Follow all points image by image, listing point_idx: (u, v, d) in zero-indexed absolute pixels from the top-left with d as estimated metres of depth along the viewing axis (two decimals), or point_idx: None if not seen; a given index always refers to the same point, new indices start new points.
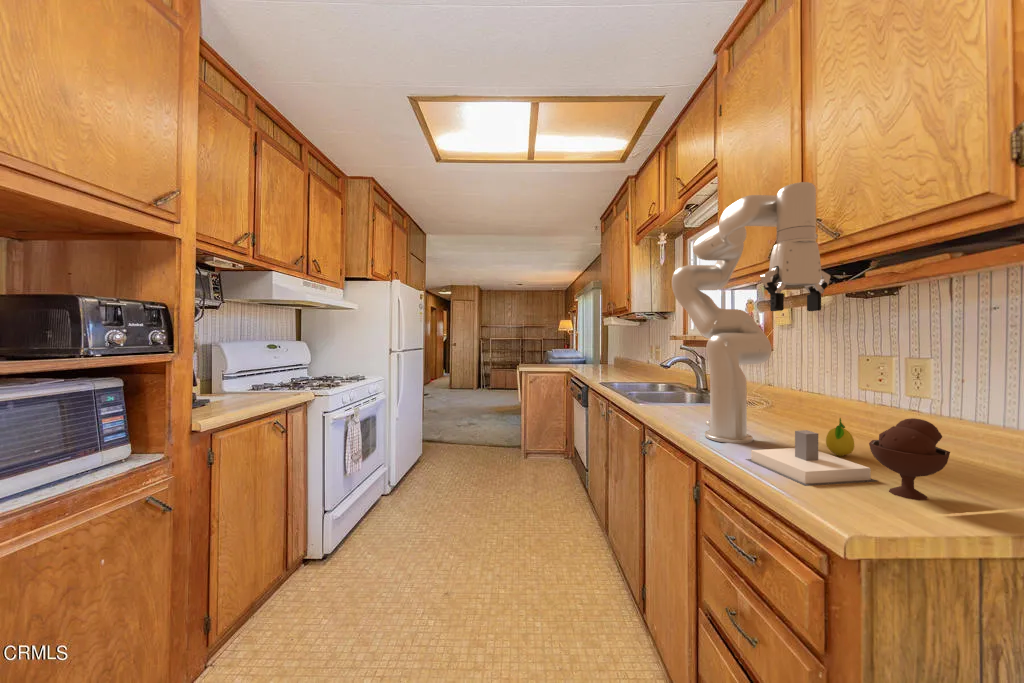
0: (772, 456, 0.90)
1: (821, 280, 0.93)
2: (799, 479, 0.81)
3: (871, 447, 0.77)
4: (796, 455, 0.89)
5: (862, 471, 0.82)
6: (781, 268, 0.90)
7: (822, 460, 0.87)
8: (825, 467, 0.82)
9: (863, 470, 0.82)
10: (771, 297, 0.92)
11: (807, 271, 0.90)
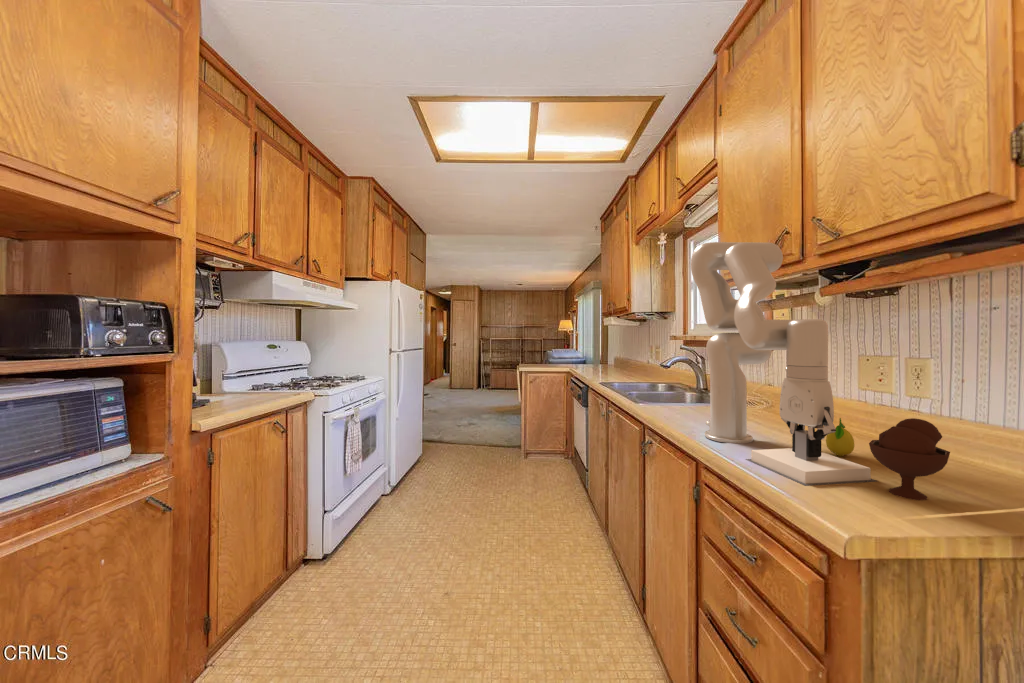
0: (772, 456, 0.90)
1: None
2: (799, 479, 0.81)
3: (871, 447, 0.77)
4: (796, 455, 0.89)
5: (862, 471, 0.82)
6: (832, 410, 0.83)
7: (822, 460, 0.87)
8: (825, 467, 0.82)
9: (863, 470, 0.82)
10: (816, 444, 0.85)
11: None
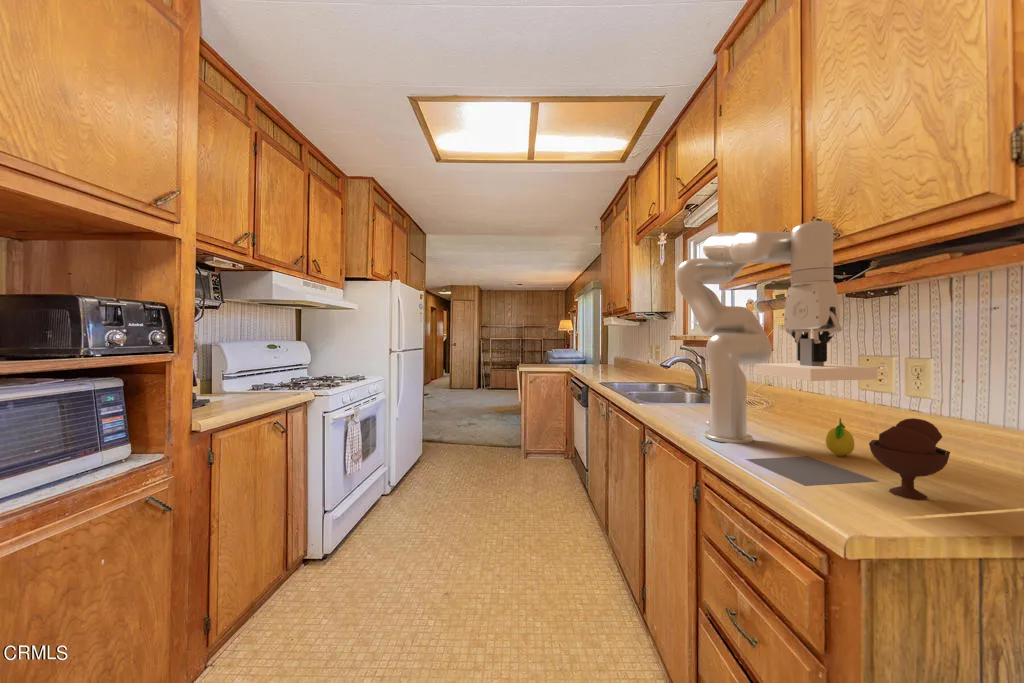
0: (777, 365, 0.89)
1: (794, 329, 0.92)
2: (804, 378, 0.80)
3: (871, 447, 0.77)
4: (801, 363, 0.88)
5: (869, 370, 0.80)
6: (838, 310, 0.82)
7: (828, 365, 0.86)
8: (831, 367, 0.81)
9: (870, 369, 0.80)
10: (821, 347, 0.84)
11: None
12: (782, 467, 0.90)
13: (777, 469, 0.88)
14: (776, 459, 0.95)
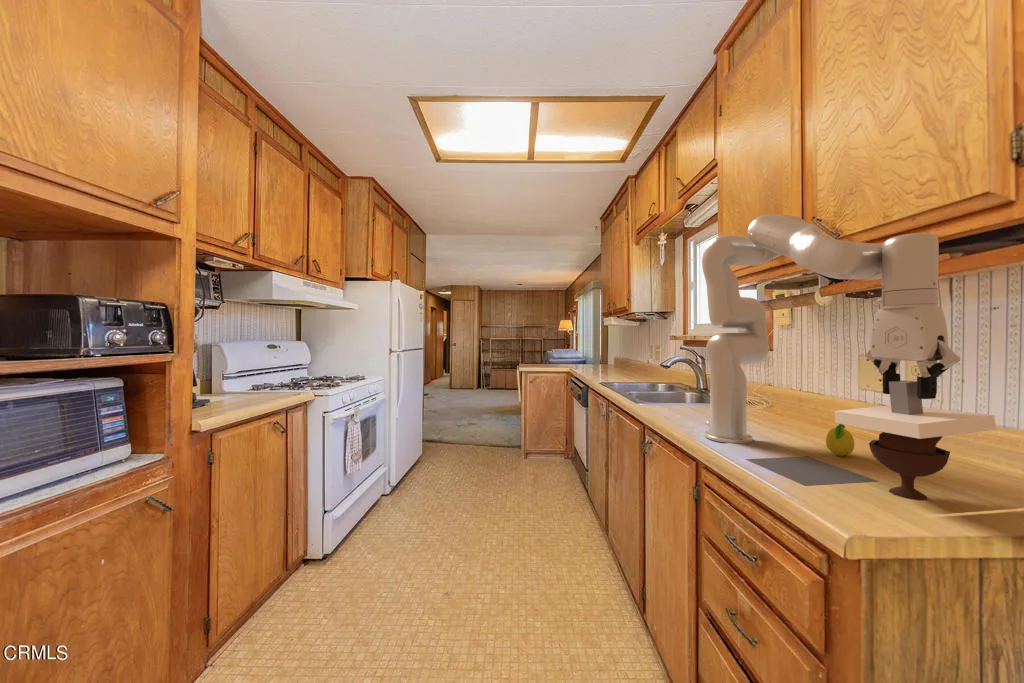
0: (864, 414, 0.76)
1: None
2: (910, 434, 0.67)
3: (871, 447, 0.77)
4: (893, 410, 0.75)
5: (985, 420, 0.67)
6: (946, 339, 0.69)
7: (928, 413, 0.73)
8: (938, 418, 0.68)
9: (986, 418, 0.67)
10: (931, 382, 0.70)
11: None
12: (782, 467, 0.90)
13: (777, 469, 0.88)
14: (776, 459, 0.95)
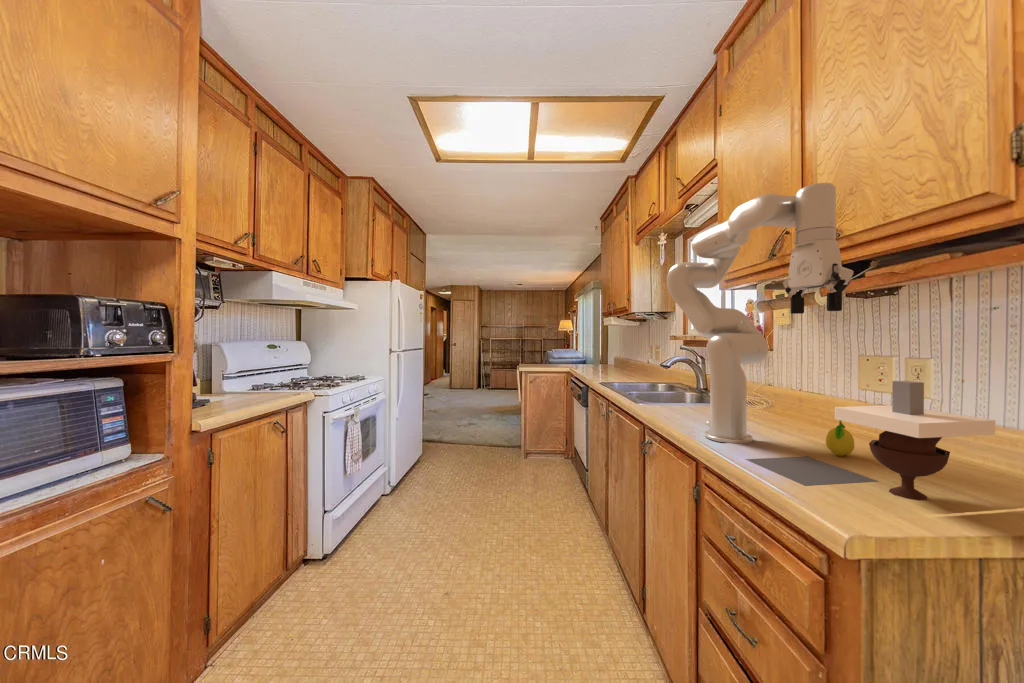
0: (865, 411, 0.76)
1: None
2: (909, 433, 0.67)
3: (871, 447, 0.77)
4: (894, 410, 0.75)
5: (985, 424, 0.67)
6: None
7: (929, 414, 0.73)
8: (939, 420, 0.68)
9: (987, 423, 0.67)
10: (837, 296, 0.86)
11: None
12: (782, 467, 0.90)
13: (777, 469, 0.88)
14: (776, 459, 0.95)
